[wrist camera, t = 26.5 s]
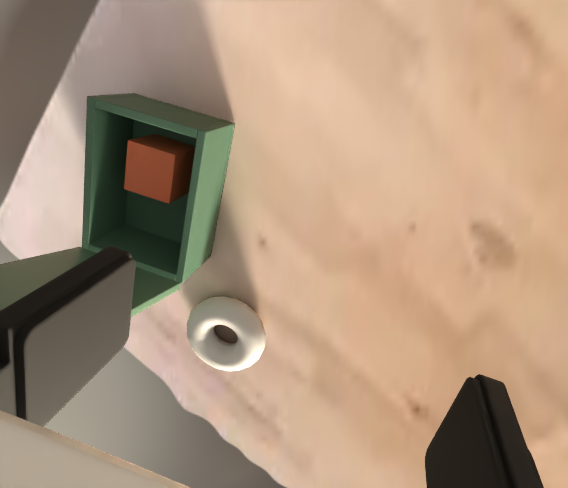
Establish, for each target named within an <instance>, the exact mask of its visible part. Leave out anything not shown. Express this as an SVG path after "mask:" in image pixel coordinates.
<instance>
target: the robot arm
mask: <svg viewBox="0 0 568 488" xmlns="http://www.w3.org/2000/svg"><path fill="white" fill-rule="evenodd" d="M135 268H136V262H135V260H134V259H132V256H131V253H130V252H127V251H124V250H121V249H119V248H116V247H113V246H109V247H107V248H105V249H103V250H102V251H100V252H98V253H97V254H95V255H93V256H91V257H90V258H88V259H86V260H85V261H83V262H81V263H80V264H78V265H76V266H75V267H73V268H71V269H70V270H68V271H66V272H65V273H63V274H61V275H60V276H58V277H56V278H55V279H53V280H51V281H50V282H48V283H46V284H44V285H43V286H41V287H39V288H38V289H36V290H34V291H33V292H31V293H29V294H28V295H26V296H24V297H23V298H21V299H19V300H18V301H16V302H14V303H13V304H11V305H9V306H8V307H6V308H4V309H3V310H1V311H0V488H190V487H188V486H185V485H183V484H180V483H178V482H176V481H173V480H170V479H168V478H166V477H164V476H161V475H159V474H156V473H154V472H151V471H149V470H147V469H144V468H142V467H139V466H137V465H135V464H132V463H130V462H127V461H125V460H122V459H120V458H117V457H115V456H113V455H110V454H108V453H105V452H103V451H101V450H98V449H96V448H93V447H91V446H88V445H86V444H84V443H81V442H79V441H76V440H74V439H71V438H69V437H67V436H64V435H62V434H59V433H56V432H54V431H52V430H49V429H47V428H44V426H45V425H46V424H47V423H48V422H49V421H50V420H51V419H52V418H53V417H54V416H55V415H56V414H57V413H58V412H59V411H60V410H61V409H62V408H63V407H64V406H65V405H66V404H67V403H68V402H69V401H70V400H71V399H72V398H73V397H74V396H75V395H76V394H77V393H78V392H79V391H80V390H81V389H82V388H83V387H84V386H85V385H86V384H87V383H88V382H89V381H90V380H91V379H92V378H93V377H94V376H95V375H96V374H97V373H98V372H99V371H100V370H101V369H102V368H103V367H104V366H105V365H106V364H107V363H108V362H109V361H110V360H111V359H112V358H113V357H114V356H115V355H116V354H117V353H118V352H119V351H120V350H121V349H122V348H123V347H124V345H125V344H126V342H127V340H128V337H129V329H130V319H131V309H132V299H133V288H134V278H135ZM425 469H426V482H427V488H544V487H543V484H542V482H541V479H540V476H539V473H538V471H537V468H536V465H535V462H534V460H533V457H532V455H531V453H530V451H529V450H528V448H527V446H526V443H525V440H524V437H523V434H522V432H521V429H520V426H519V423H518V421H517V418H516V415H515V412H514V409H513V407H512V404H511V401H510V398H509V396H508V393H507V390H506V387H505V385H504V383H502V382H500V381H497V380H495V379H492V378H489V377H486V376H483V375H480V374H479V375H477V376H476V377H475V378H471V377H468V378H467V379H466V381H465V383H464V384H463V386H462V388H461V390H460V391H459V393H458V395H457V397H456V399H455V400H454V402H453V404H452V406H451V407H450V409H449V411H448V413H447V415H446V416H445V418H444V420H443V422H442V423H441V425H440V427H439V429H438V431H437V432H436V434H435V436H434V438H433V439H432V441H431V443H430V445H429V447H428V449H427V452H426V456H425Z"/></svg>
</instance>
